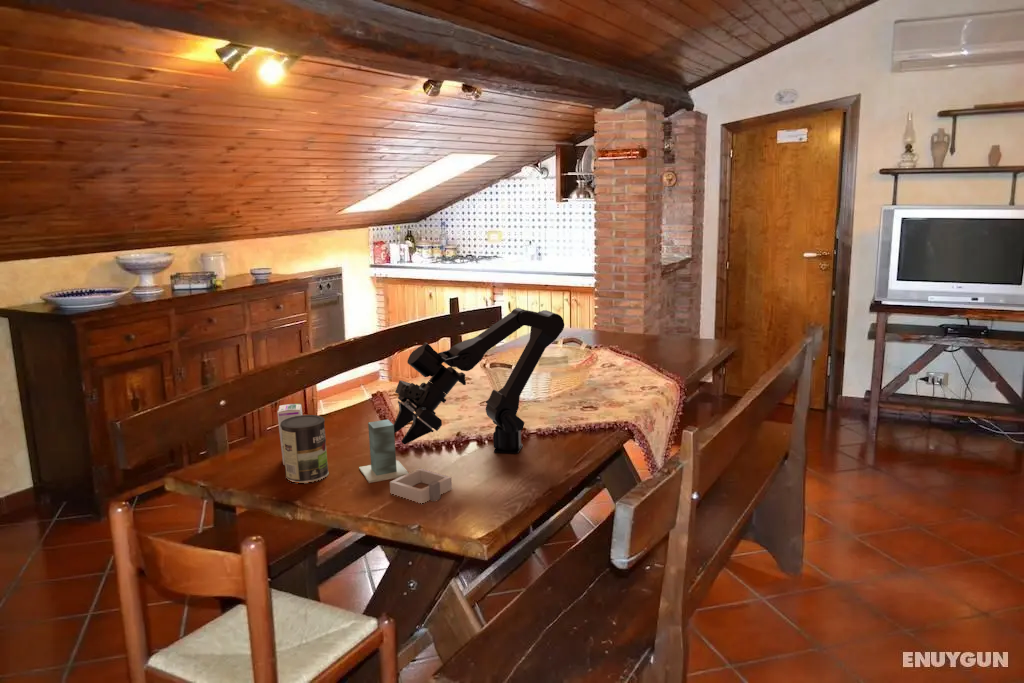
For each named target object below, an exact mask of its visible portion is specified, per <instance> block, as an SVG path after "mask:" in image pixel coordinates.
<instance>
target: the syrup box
mask: <svg viewBox="0 0 1024 683" xmlns="http://www.w3.org/2000/svg"><path fill="white" fill-rule="evenodd" d="M302 408H303V405H302V403H288V404H282V405H281V404H280V405H279V406H278V409H277V421H278V432H279V440H280V450H281V457H282V464H283V466H285V459H284V449H283V439H282V428H281V422H282V421H283V420H285V419H288V418H291V417H294V416H301V415H303V409H302Z"/></svg>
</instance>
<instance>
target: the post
mask: <svg viewBox="0 0 1024 683" xmlns="http://www.w3.org/2000/svg"><path fill="white" fill-rule="evenodd" d="M367 424H368V425H367V427H368V438H369V439H368V440H369V443H368V444H369V454H370V455H369V457H370V465H371V469H372V470H373V471H374V473H375V474H376V475H382V474H387V473H393V472H397V469H396V460H397V456H396V454H397V453H396V440H395V439H396V438H395V433H394V423H392V421H390V420H389V419H382V420H375V421H370V422H368V423H367Z"/></svg>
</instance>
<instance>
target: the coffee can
mask: <svg viewBox="0 0 1024 683" xmlns="http://www.w3.org/2000/svg"><path fill="white" fill-rule="evenodd" d="M325 422H326V421H325V418H324V417H323V416H321V415H317V414H302V415H301V416H294V417H291V418H288V419H285V420H283V421H282V422H281V428H282V439H283V449H284V459H285V465H284V467H285V479H286V478H287V479H288V480H290V481H292V482H299V483H304V484H309V483H308V482H312V483H315V482H314V481H316V482H319V481H322V480H324V479H326V478H327V477H328V476H329V474H330V473H329V464H328V452H327V444H326V443H327V442H326V441H327V439H326V430H325V429H326V428H325V427H326V426H325V425H326V424H325ZM325 477H326V478H325ZM323 478H324V479H323ZM321 479H322V480H321ZM318 480H319V481H318Z"/></svg>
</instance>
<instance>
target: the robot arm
mask: <svg viewBox="0 0 1024 683" xmlns="http://www.w3.org/2000/svg"><path fill="white" fill-rule="evenodd" d="M524 326H526V327H529V328H530V332H529V334H530V335H529V339H528V342H527V344H526V346H525V347H524V349H523V350H522V352H521V355H520V356H519V359H518V361H517V362H516V364H515V365H514V367H513V369H512V371H511V373H510V375H509V376H508V379H507V380H506V382H505V384H504V386H503V387H502V388H501V389H499V390H498V391H497V390H496V389H492V391H491V394H490V395H489V398H488V399H487V400H486V401H485V404H486V406H485V412H486V416H487V417H488V418H489V419H491V420H492V423H493V424H494V425H496V426H495V428H494V431H493V433H492V434H493V435H492V439H493V448H494V449H493V450H494V452H493V453H498V454H499V453H503V454H519V452H520V451H521V449H522V448H523V446H524V444H523V443H522V431H523V429H524V426H525V421H524V420H522V419H521V417H519V416H518V415H517V414H518V410H519V408H520V397H521V394H522V393H523V390H524V389H525V387H526V385H527V383H528V381H529V380H530V377H531V375H533V372H534V371H535V368H536V366H537V365H538V363H539V361H540V360H541V357H542V356H543V354H544V351H545V350H546V349H547V347H549V346H550V345H551V344H553V342H555V341H556V340H557V339H558V337H560V335H561V333H562V332H563V330H564V328H565V321H564V318H563V316H562V315H560V314H558V313H555V312H552V311H549V310H547V309H546V310H540V311H532V310H527V309H524V308H523V309H522V308H520V307H516V308H514V309H513V310H511V312H510V313H508V314H507V315H505V316H504V317H503V318H501V319H500V320H498V321H496V322H495V323H494V324H493V325H491V326H490V327H488V328H487V329H486V330H484V331H483V332H481V333H480V334H478V335H476V336H474V337H472V338H469V339H465V340H463V341H460V342H458V343H456V344H454V345H452V346H451V347H450V348H449V349H447V350H444V351H441V352H437V351H436V350H435V349H434V348H433V347H432V346H431V345H430V344H429V343H428V342H424V343H423V344H422V345H421V346H419V347H417V348H416V349H414V350H412V352H411V353H410V354H409V356H408V358H407V361H406V362H407V364H408V365H409V366H410V367H411V368H413V369H414V370H415V371H416V372H418V373H419V374H420V375H421V376H423V377H424V378H429V377H430V379H428V381H427V382H426V383H425V382H421V383H420V384H417V383H416V384H415V383H413V382H411V383H410V382H408V381H404V380H401V379H400V380H399V381H398V384H397V386H396V389H395V394H397V395H398V397H397V399H398V400H397V403H398V412H397V416H396V418H395V421H394V422H393V425H394V434H395V433H397V432H399V431H400V430H402V429H404V428H405V427H406V426H407V425H408V424H410V423H411V422H412V424H411V425H410V427H409V428H408V430H407V432H406V433H405V435H404V437H403V438H402V440H401V443H402V445H403V444H404V445H406V444H409V443H411V442H413V441H414V440H417V439H418V438H421V437H423V436H424V435H427V434H429V433H430V434H431V433H434V432H435V431H436V432H439V429H440V428H441V427H442V425H443V423H442V422H443V420H442V419H441V418H440V417H438V415H436V412H435V411H436V409H437V408H438V406H439V405H440V404H441V403H443V404H445V402H447V399H446V396H447V395H449V393H450V392H451V391H452V390H453V388H454V387H455V386H456V385H457V383H458V382H459V383H460V384H461V385H463V386H466V384H467V382H466V373H464V372H469V371H471V370H473V369H474V368H475V367H476V366H477V365H478V364H479V363H480V362H481V361H483V358H484V357H485V354H486V353H487V352H488V351H490V350H491V349H492V348H494V347H495V346H496V345H498V344H499V343H501V342H502V341H504V340H505V339H507V338H508V337H509V336H511V335H512V334H514V333H515V332H517V331H518V330H519V329H521V328H522V327H524ZM443 364H445V365H447V366H448V367H446V366H445V365H443ZM455 368H457V369H458V370H460V371H462V372H459V371H457V370H456V369H455Z"/></svg>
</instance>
